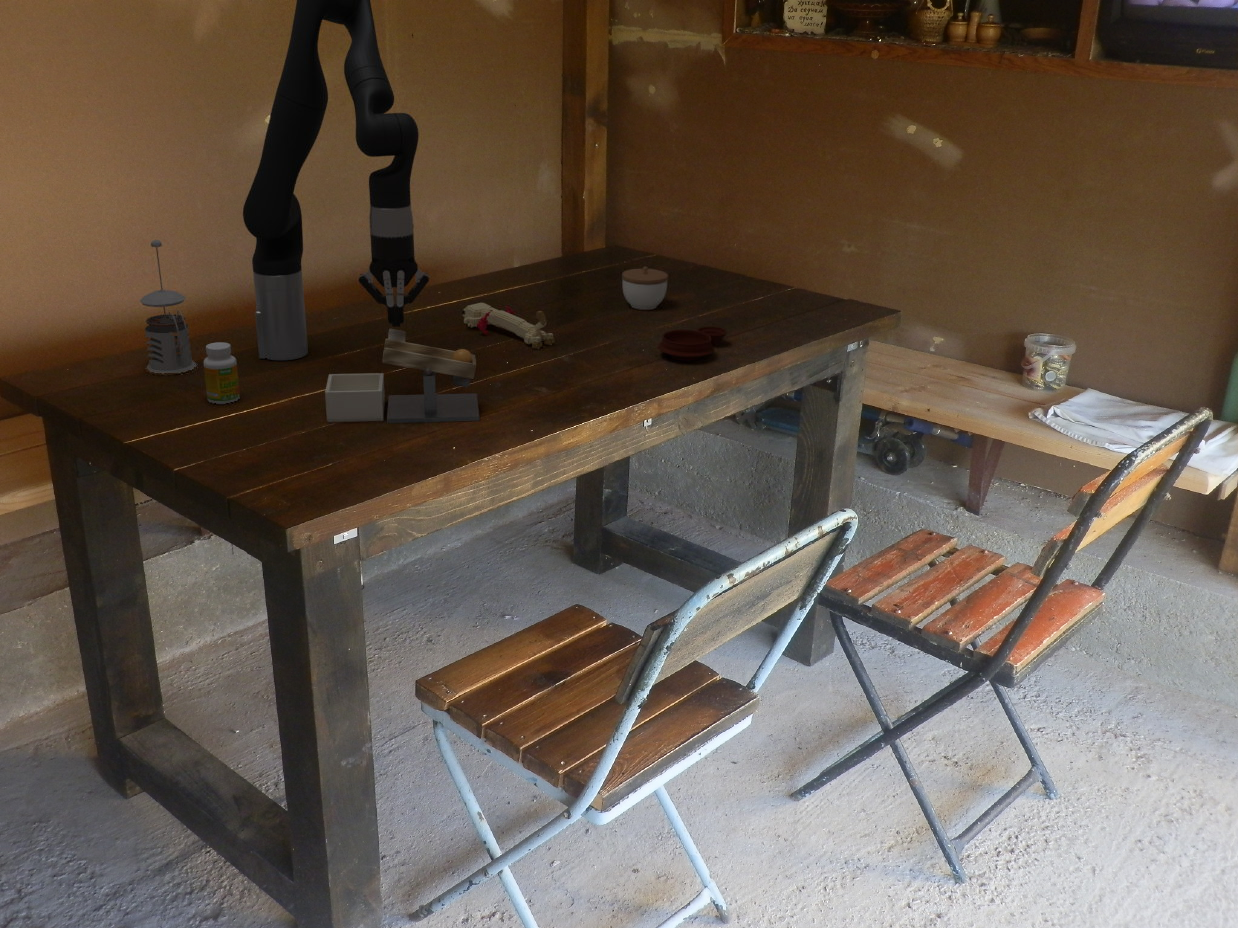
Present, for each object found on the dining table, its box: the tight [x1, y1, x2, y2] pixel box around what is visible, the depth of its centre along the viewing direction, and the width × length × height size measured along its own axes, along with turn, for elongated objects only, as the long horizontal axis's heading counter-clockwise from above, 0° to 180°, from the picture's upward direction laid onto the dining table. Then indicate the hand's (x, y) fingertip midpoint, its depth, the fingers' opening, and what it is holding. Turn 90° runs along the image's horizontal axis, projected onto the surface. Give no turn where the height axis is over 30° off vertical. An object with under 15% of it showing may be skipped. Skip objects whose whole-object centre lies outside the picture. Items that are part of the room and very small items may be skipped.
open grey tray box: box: [324, 372, 386, 423], centre depth 213 cm, size 10×10×6 cm
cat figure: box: [461, 302, 556, 350], centre depth 258 cm, size 10×9×25 cm
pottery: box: [657, 326, 728, 362], centre depth 252 cm, size 12×20×4 cm, turn 147°
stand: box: [386, 370, 480, 424], centre depth 215 cm, size 16×12×8 cm
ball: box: [452, 348, 472, 363], centre depth 213 cm, size 4×4×4 cm
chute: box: [382, 328, 477, 388], centre depth 216 cm, size 16×15×4 cm
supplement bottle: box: [203, 342, 241, 405], centre depth 216 cm, size 6×6×10 cm
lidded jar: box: [621, 266, 669, 311], centre depth 281 cm, size 11×11×9 cm
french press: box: [139, 239, 198, 374], centre depth 228 cm, size 10×12×25 cm
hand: (396, 325), depth 218 cm, fingers closed
